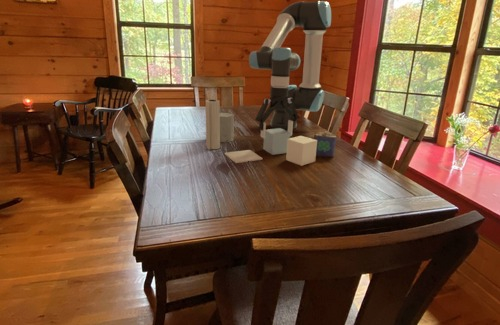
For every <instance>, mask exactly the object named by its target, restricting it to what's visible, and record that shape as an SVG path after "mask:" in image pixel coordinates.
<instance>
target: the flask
mask: <svg viewBox="0 0 500 325" xmlns="http://www.w3.org/2000/svg"><path fill="white" fill-rule="evenodd" d="M313 139H314V140H317V149H316V157H317V156H318V157H325V158H334V157H335V152H336V142H337V136H336V135H328V131H324V132H323V133H315V134H314V137H313Z"/></svg>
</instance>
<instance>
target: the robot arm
mask: <svg viewBox="0 0 500 325" xmlns="http://www.w3.org/2000/svg"><path fill="white" fill-rule="evenodd" d="M331 24H332V8H331V5H330V3H329V2H328V1H326V0H325V1H323V0H314V1H313V0H311V1H296V2H293V3H291V4H289V5H288V6H286V7H284V9H283V10H281V12H280V13H279V14H278V16H277V18H276V23H275V24H274V26H273V28H272V30H271V31H270V32H269V34H268V36H267V37H266V39H265V41H263V43H262V45H261V46H260V48H259V49H258V50H255V51H254V50H253V51H251V52H250V54H249V57H248V63H249V66H250V68H251V69H258V70H269V71H271V76H270V86H271V87H270V92H269V94H270V95H269V96H270V97H269V98H263V100H262V105H261V107H259V110H258V113H257V114H256V117H255V118H254V119H255V122H259V126H258V127H259V131H260V138H262V139H264V138H265V130H267V129H266V128H267V126H266V125H267V123H266V121H267V119H268V118H269V116H270V115H271V114H272V112H273V114H272V117H271V120H270V123H269V124H270V125H269V126H270V127H271V128H272V129H277V128H281V129H283V130H287V131H288V132H290V137H292V136H293V129H296V128H297V126H298V122H297V120H299V118H300V117H299V114H298V111H306V112H318V111H319V110H320V109H321V108H322V104H323V102H324V98H325V91H324V90H323V89H322V85H321V84H320V75H321V73H320V72H321V63H322V62H321V61H322V49H323V38H324V37H323V36H324V34H325V33H326V32H327V30H328V29H327V28H330V27H331ZM298 27H299V28H302V31H303V33H304V34H305V38H304V39H305V43H304V56H303V69H302V70H303V72H302V82H301V83H300V84H299V86H298V87H297V85H296V84H290V72H293V71H295V70H297V69H298V68H299V67H300V65H301V57H300V56H299V54H297V53H296V52H292V49H291V48H290V47H282V45H283V43H284V42H285V40H286V38H287V36H288V34H289V33H290V32H291V31H293V29H295V28H298ZM297 110H298V111H297Z"/></svg>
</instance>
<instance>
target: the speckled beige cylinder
mask: <svg viewBox="0 0 500 325" xmlns="http://www.w3.org/2000/svg"><path fill="white" fill-rule="evenodd" d="M234 115H235V114H234V113H231V112H220V143H230V141H231V142H234V128H235V127H234V124H235V122H234V121H235V120H234V119H235V116H234Z"/></svg>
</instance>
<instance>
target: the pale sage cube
mask: <svg viewBox="0 0 500 325" xmlns="http://www.w3.org/2000/svg"><path fill="white" fill-rule="evenodd" d="M290 138H291V136H290V132H288V130H287V129H281V128H270V129H269V128H268V129H265V138H263V145H262V146H263V148H262V150H264V151H266V152H267V153H269V154H270V155H271V156H273V155H274V156H275V155H280V154H282V155H283V154H287V140H288V139H290Z"/></svg>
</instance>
